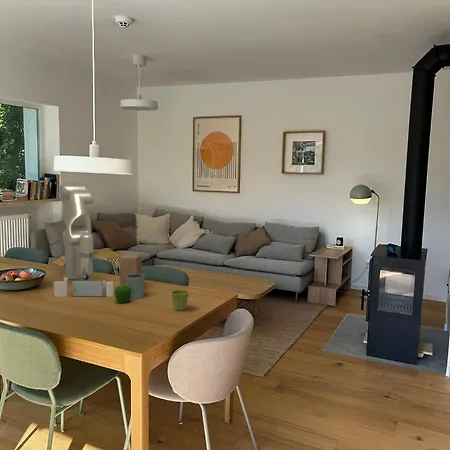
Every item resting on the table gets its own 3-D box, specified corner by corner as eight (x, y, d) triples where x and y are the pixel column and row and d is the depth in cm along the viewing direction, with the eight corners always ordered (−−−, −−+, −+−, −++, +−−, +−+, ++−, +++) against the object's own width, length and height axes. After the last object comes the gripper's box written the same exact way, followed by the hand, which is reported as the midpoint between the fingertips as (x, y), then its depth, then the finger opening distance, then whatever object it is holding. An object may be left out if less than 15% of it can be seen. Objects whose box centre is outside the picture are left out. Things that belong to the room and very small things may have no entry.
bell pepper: (111, 303, 233) (110, 284, 232) (121, 298, 240) (120, 280, 239) (124, 305, 229) (123, 286, 228) (134, 301, 237) (133, 282, 235)
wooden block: (142, 287, 263) (141, 254, 260) (137, 292, 253) (136, 257, 251) (125, 287, 264) (125, 253, 261) (120, 291, 254) (119, 257, 252)
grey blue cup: (126, 299, 239) (125, 277, 237) (126, 294, 249) (125, 273, 247) (145, 298, 241) (145, 277, 239) (144, 293, 251) (144, 272, 249)
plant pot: (168, 307, 227) (168, 290, 226) (186, 305, 231) (186, 288, 229) (173, 312, 218) (173, 295, 217) (191, 310, 222) (191, 293, 221)
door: (102, 295, 245) (102, 281, 244) (101, 296, 242) (100, 282, 241) (73, 295, 244) (73, 281, 243) (71, 296, 242) (71, 282, 241)
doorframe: (55, 295, 245) (54, 277, 243) (113, 296, 245) (113, 278, 244) (54, 296, 243) (53, 278, 242) (113, 296, 244) (112, 279, 242)
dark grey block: (75, 290, 255) (75, 279, 254) (93, 290, 257) (93, 279, 256) (73, 294, 248) (72, 282, 248) (91, 293, 250) (91, 282, 249)
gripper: (83, 253, 264) (84, 283, 266) (76, 258, 249) (77, 290, 252) (96, 253, 264) (97, 283, 267) (89, 258, 249) (90, 290, 252)
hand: (87, 286), depth 259 cm, fingers closed
